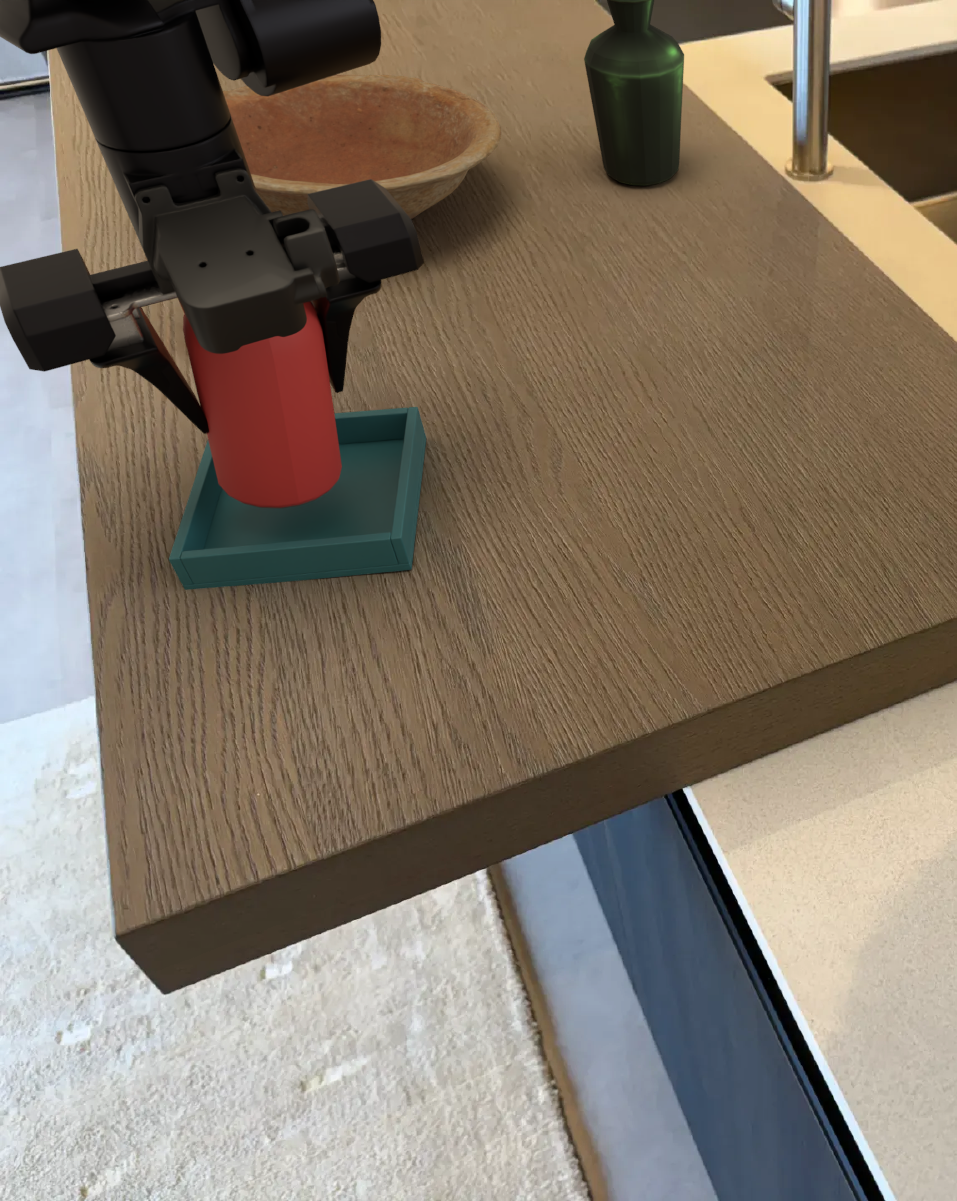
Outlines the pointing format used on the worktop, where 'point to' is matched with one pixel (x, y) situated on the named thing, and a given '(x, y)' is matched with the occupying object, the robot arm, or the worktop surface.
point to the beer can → (270, 416)
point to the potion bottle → (636, 95)
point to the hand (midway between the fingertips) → (272, 408)
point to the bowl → (361, 138)
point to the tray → (313, 514)
